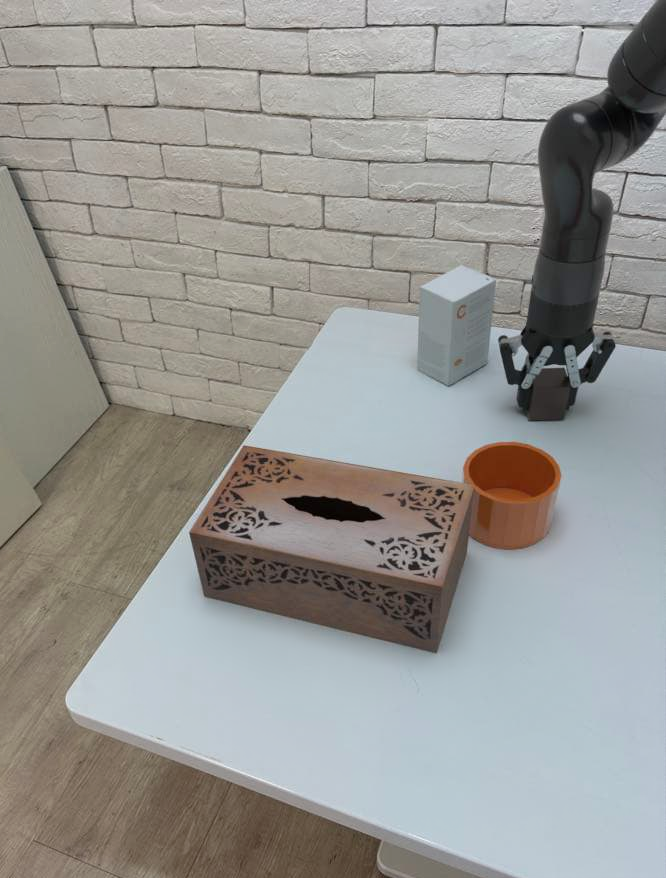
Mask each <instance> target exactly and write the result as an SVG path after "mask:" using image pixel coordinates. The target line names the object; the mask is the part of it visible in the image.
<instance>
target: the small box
mask: <svg viewBox="0 0 666 878" xmlns="http://www.w3.org/2000/svg"><path fill="white" fill-rule="evenodd" d="M496 284H497V279H496V278H494V277H491V276H490V275H487V274H485V273H483V272H481V271H480V272H479V271H477V270H475V269H473V268H470V267H468V266H465V265H462V264H460V265H458V266H456V267H454V268H453V269H451V270H449V271H447V272H445V273H443V274H441V275H440V276H437V277H436V278H433V279H431V280H430V281H427V282H426V283H424V284H422V285H420V286H419V294H418V295H419V298H418V300H419V301H418V329H417V331H418V332H417V361H416V362H417V364H416V365H417V366H416V368H417V371H419V372H421V373H422V374H424V375H427V376H428V377H430V378H432V379H434V380H436V381H437V382H439V383H441V384H443V385H445V386H447V387H450V386H452V385H453V384H455V383H457V382H458V381H460V380H462V379H463V378H465V377H466V376H468V375H470V374H472V373H473V372H475V371H477V370H479V369H480V368H481V367H483V366H485V365H487V364H488V362H489V351H490V341H491V334H492V333H491V331H492V323H493V314H494V304H495V293H496Z"/></svg>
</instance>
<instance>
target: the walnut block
mask: <svg viewBox="0 0 666 878" xmlns="http://www.w3.org/2000/svg"><path fill="white" fill-rule="evenodd" d="M567 376H568V374H567V369H566V367H543V368H542V370H541V372H540V373H539V375H538V376H536V377H535V379H534V381H533V383H532V385H531V388H532V390H531V396H530V402H529V408H528V411H526V414H527V420H528V421H559V420H561V421H562V420H563V421H564V420H565V416H566V412H567V410H566V406H567V401H568V396H569V391H570V385H569V381H568V378H567Z"/></svg>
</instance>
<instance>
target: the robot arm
mask: <svg viewBox="0 0 666 878" xmlns="http://www.w3.org/2000/svg"><path fill="white" fill-rule="evenodd" d="M606 79H607V86H606V87H605V88H604V89H603V90H602V91H601V92H599V93H597V94H595V95H592V96H590V97H587V98H584V99H581V100H578V101H576V102H573V103H570V104H567V105H565V106H563V107H561V108H559V109H558V110H557V111H555V112H553V114H552V115H551V116H550V117H549V119H548V120H547V122H546V123H545V125H544V127H543V129H542V132H541V135H540V138H539V142H538V148H537V164H538V173H539V179H540V180H539V181H540V189H541V196H542V197H541V198H542V202H543V210H544V218H543V222H542V229H541V235H540V243H539V249H538V254H537V256H536V260H535V263H534V267H533V268H534V269H533V274H532V275H531V288H530V296H529V302H528V310H527V316H526V322H525V326H524V328H523V329H522V330H521V332H520V334H519V335H515V336H511V337H509V336H508V335H505V334H503V335H502V334H501V335H500V336H499V337H498V338H497V342H498V348H499V352H500V357H501V361H502V366H503V369H504V374H505V378H506V382H507V384H508V385H509V386H514V385H517V390H516V391H517V392H516V403H517V406H518V408H521V411H522V412H527V411H528V408H529V402H530V396H531V390H532V388H531V385H532V383H533V381H534V379H535V377H536V376H538V375H539V373H540V372H541V370H542V368H544V367H548V366H552V365H556V366H562V367H563V366H565V370H566V374H567V378H568V381H569V385H570V391H569V396H568V401H567V406H566V411H569V410H570V407H574V405H575V404H576V399H577V395H578V391H579V387H580V386H581V384H584V383H588V384H593V383H595V382H596V381H597V380H598V378H599V376H600V374H601V372H602V371H603V370H604V367H605V366H606V364H607V362H608V360H609V359H610V358H611V356H612V354H613V352H614V350H615V349H616V347H617V345H616V342H615V339H614V336H613V334H612V332H611V331H604V332H603V333H598V332H594V329H593V325H594V322H595V317H596V312H597V307H598V303H599V299H600V292H601V288H602V283H603V278H604V274H605V267H606V266H605V265H606V254H607V248H608V244H609V238H610V234H611V229H612V223H613V218H614V202H613V198H611V196H610V195H609V194H608V193H606V191H603V190H601V189H598V188H595V187H594V188H593V184H594V179H595V175H596V174H598V173H599V172H602V171H604V170H606V169H609V168H612V167H614V166H616V165H619V164H621V163H623V162H624V161H626V160H628V159H629V158H630V157H632V156H633V155H634V154H636V153H637V152H638V150H640V149H641V148H642V147H643V146H644V145H645V144H646V143H647V142H648V140H649V139H650V138H651V137H652V135H653V134H654V133H655V131H656V129H657V128H658V126H659V125H660V123H661V122H662V120H663V119H664V117H665V116H666V0H655V2H654V3H653V4H652V5H651V6H650V8H649V9H648V10H647V12H646V13H645V14H644V16H643V17H642V18H641V19H639V22H638V23H637V24H636V25H635V27H633V29H632V30H631V32H630V33H629V34H628V35H627V37H626V38H625V39H624V41H622V43H621V44H620V46H619V47H618V48H617V50H616V51H615V53H614V55H613V56H612V58H611V60H610V62H609V64H608V67H607V73H606ZM590 345H591V346H592V351H591V353H590V354H589V356H588V358H587V360H586V361H585V363H584V365H583V367H581V368H579V364H578V359H577V358H578V357H579V356H580V355H581V354H582V353H583V352H584V351H586V349H587V348H589V347H590ZM521 346H522V347H523V348H524V349H525V351H526V352H527V354H526V356H525V360H524V364H523V365H522V367H521V370H519V369H516V368H515V363H514V358H513V357H515V356H516V355H517V354H518V352H519V348H520V347H521Z"/></svg>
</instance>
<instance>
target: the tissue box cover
mask: <svg viewBox="0 0 666 878" xmlns="http://www.w3.org/2000/svg"><path fill="white" fill-rule="evenodd" d="M474 486H475V485H472V484H466V483H462V482H460V481H454V480H448V479H442V478H438V477H437V478H436V477H430V476H424V475H418V474H414V473H413V474H412V473H407V472H402V471H395V470H391V469H384V468H379V467H372V466H368V465H360V464H355V463H349V462H343V461H337V460H332V459H325V458H320V457H315V456H309V455H302V454H297V453H291V452H286V451H279V450H273V449H269V448H262V447H256V446H251V445H245V444H243V445H242V447H241V448H240V450H239V452H238V454H237V455H236V457H235V458H234V459H233V461H232V463H231V464H230V466H229V467H228V470H226V472H225V474H224V476H223V477H222V479H221V481H220V482H219V484H218V485H217V487H216V488H215V490H214V491H213V493H212V495H211V496H210V497H209V499H208V501H207V503H206V504H205V506H204V508H203V509H202V511H201V512H200V513H199V515H198V516H197V519H196V521H195V522H194V523H193V525H192V526H191V528H190V530H189V531H188V534H189V538H190V542H191V543H190V544H191V547H192V551H193V555H194V559H195V560H194V561H195V563H196V568H197V572H198V576H199V580H200V585H201V590H202V594H203V597H206V598H210V599H213V600H216V601H217V600H218V601H222V602H226V603H231V604H234V605H237V606H242V607H247V608H250V609H254V610H259V611H262V612H267V613H271V614H275V615H279V616H284V617H287V618H291V619H295V620H299V621H304V622H306V623H307V622H308V623H312V624H315V625H320V626H324V627H328V628H332V629H336V630H341V631H344V632H349V633H353V634H357V635H361V636H365V637H369V638H372V639H373V638H374V639H377V640H380V641H381V640H382V641H386V642H389V643H394V644H398V645H402V646H406V647H408V648H409V647H410V648H415V649H419V650H422V651H426V652H431V653H434V654H437V653H438V650H439V647H440V644H441V640H442V638H443V633H444V630H445V627H446V624H447V620H448V617H449V613H450V610H451V607H452V604H453V601H454V597H455V594H456V591H457V587H458V584H459V580H460V577H461V574H462V571H463V567H464V563H465V560H466V557H467V554H468V547H469V538H470V535H469V530H470V521H471V512H472V504H473V495H474Z"/></svg>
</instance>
